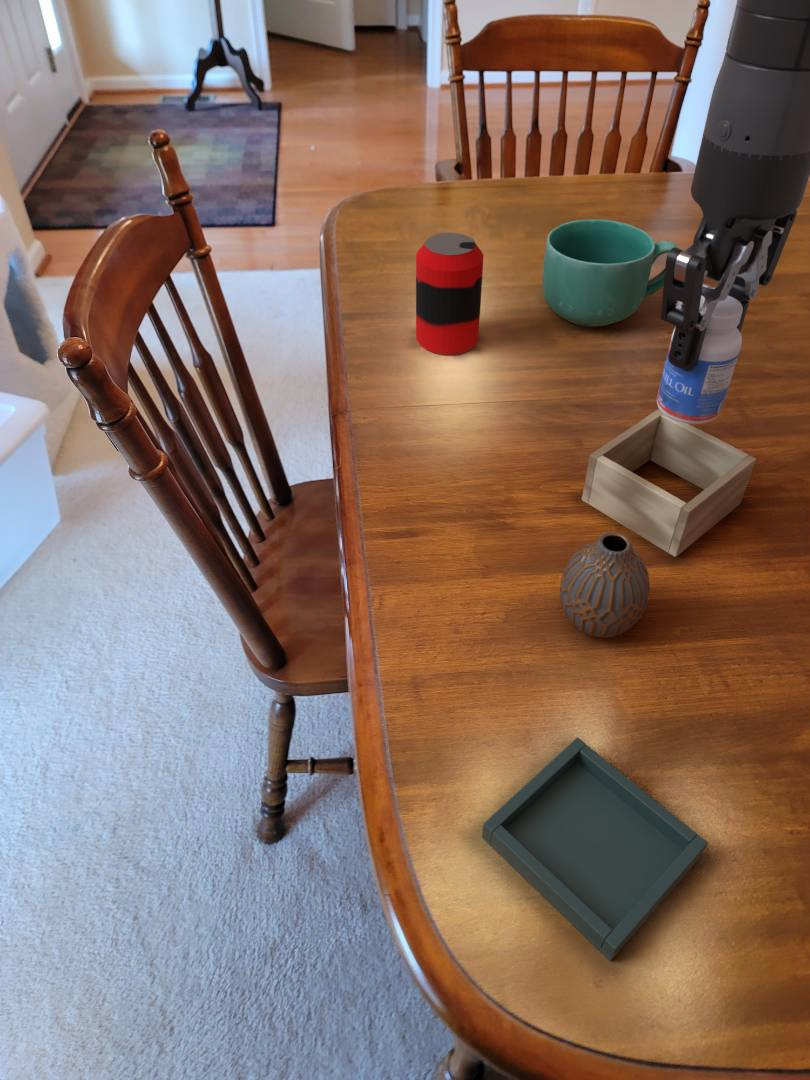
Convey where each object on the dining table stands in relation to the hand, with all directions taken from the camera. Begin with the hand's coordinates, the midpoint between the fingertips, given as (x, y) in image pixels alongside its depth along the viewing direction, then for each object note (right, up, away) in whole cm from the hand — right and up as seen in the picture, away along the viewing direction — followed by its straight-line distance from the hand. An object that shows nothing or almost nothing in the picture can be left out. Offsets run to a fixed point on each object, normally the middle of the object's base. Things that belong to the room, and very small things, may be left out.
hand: (703, 351), depth 68 cm
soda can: (-19, +9, +33) cm, 39 cm away
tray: (-12, -35, -13) cm, 40 cm away
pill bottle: (0, -4, +4) cm, 6 cm away
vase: (-8, -22, +1) cm, 24 cm away
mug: (+1, +13, +38) cm, 40 cm away
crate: (0, -12, +12) cm, 16 cm away
